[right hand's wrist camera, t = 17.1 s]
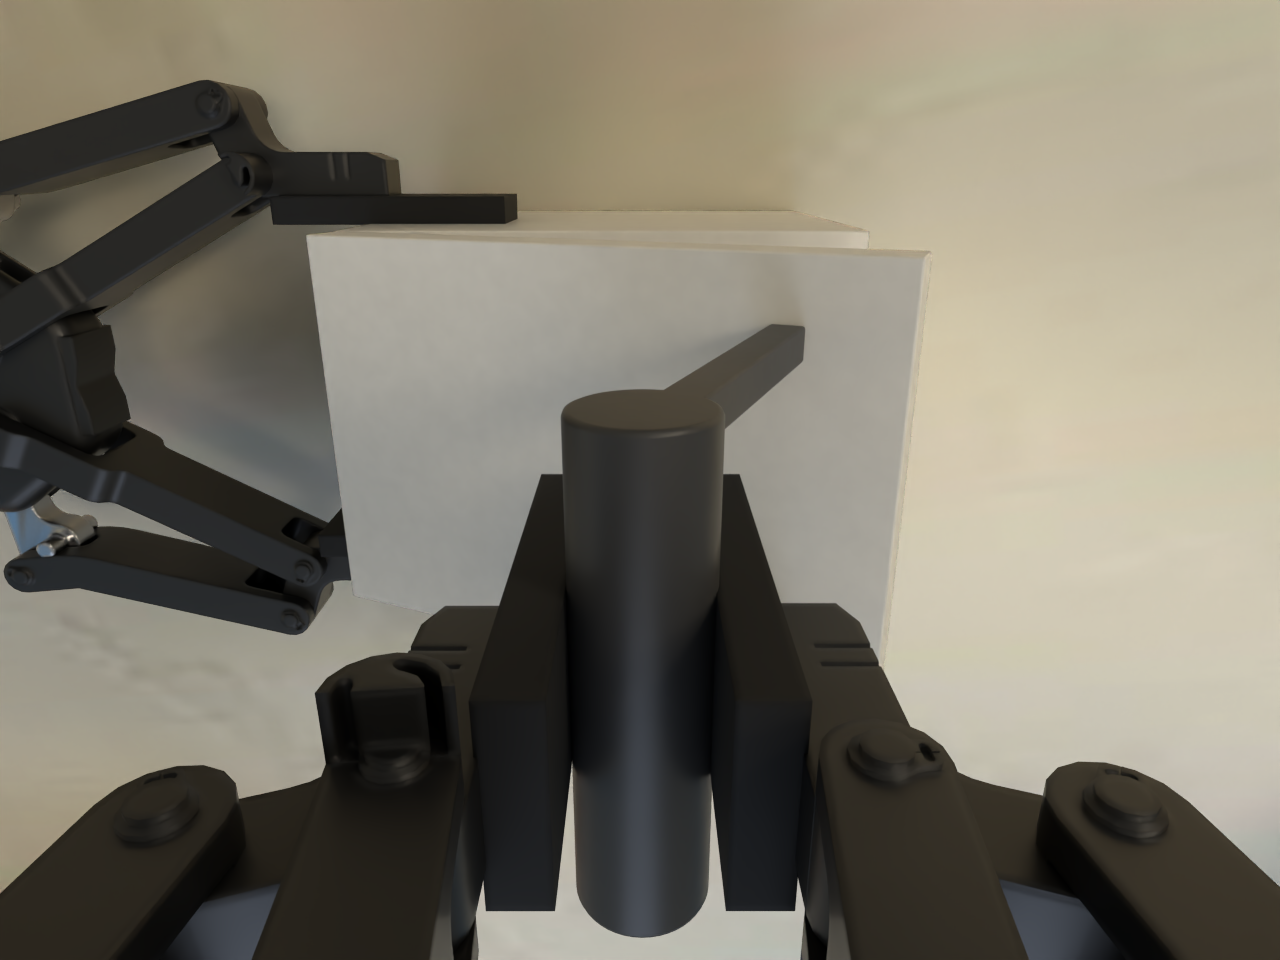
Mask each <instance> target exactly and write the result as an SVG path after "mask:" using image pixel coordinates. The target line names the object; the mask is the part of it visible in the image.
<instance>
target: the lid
mask: <svg viewBox="0 0 1280 960" xmlns="http://www.w3.org/2000/svg"><path fill="white" fill-rule="evenodd" d="M306 241H307V248H308V256H309V263H310V271H311V279H312V286H313V294H314V301H315V309H316V316H317V324H318V331H319V339H320V347H321V354H322V362H323V369H324V377H325V384H326V392H327V399H328V407H329V415H330V422H331V430H332V437H333V445H334V452H335V460H336V467H337V475H338V483H339V490H340V498H341V505H342V513H343V520H344V528H345V535H346V543H347V551H348V558H349V566H350V573H351V581H352V588H353V595H354V596H356V597H360V598H365V599H369V600H373V601H377V602H382V603H386V604H390V605H394V606H399V607H403V608H407V609H412V610H416V611H420V612H424V613H429V614H433V615H434V614H435V613H437V612H438V611H439V610H440V609H442V608H443V607H444V606H499V604H500V601H501V598H502V595H503V592H504V589H505V586H506V582H507V579H508V576H509V573H510V570H511V567H512V564H513V561H514V558H515V554H516V551H517V548H518V545H519V542H520V539H521V536H522V533H523V530H524V526H525V523H526V520H527V517H528V514H529V511H530V508H531V505H532V502H533V498H534V495H535V492H536V489H537V486H538V483H539V480H540V477H541V474H563V503H564V532H565V561H566V591H567V620H568V650H569V679H570V709H571V738H572V768H573V797H574V826H575V856H576V885H577V893H578V896H579V899H580V901H581V903H582V905H583V907H584V908H585V910H586V911H587V913H588V914H589V915H590V916H591V917H592V918H593V919H594V920H595V921H596V922H597V923H598V924H600V925H601V926H603V927H604V928H606V929H608V930H610V931H612V932H615V933H618V934H621V935H624V936H630V937H640V938H645V937H655V936H661V935H664V934H668V933H670V932H673V931H675V930H677V929H679V928H681V927H682V926H684V925H685V924H687V923H688V922H689V921H690V920H691V919H692V918H693V917H694V916H695V915H696V914H697V913H698V911H699V910H700V908H701V907H702V905H703V903H704V901H705V899H706V896H707V892H708V881H709V853H710V826H711V798H712V784H711V775H710V768H711V740H712V712H713V683H714V655H715V627H716V598H717V592H718V589H719V578H720V550H721V522H722V495H723V474H740V477H741V480H742V483H743V486H744V489H745V493H746V496H747V499H748V502H749V505H750V508H751V511H752V514H753V517H754V520H755V524H756V527H757V530H758V533H759V536H760V539H761V542H762V545H763V548H764V552H765V555H766V558H767V561H768V564H769V567H770V570H771V573H772V576H773V579H774V583H775V586H776V589H777V592H778V595H779V598H780V601H781V603H836V604H838V605H839V606H840V607H842V608H843V609H844V610H845V611H847V612H848V613H849V614H850V615H852V616H853V617H854V618H856V619H857V620H858V621H859V622H860V623H861V625H862V628H863V630H864V632H865V634H866V636H867V638H868V640H869V642H870V648H873V650H874V652H875V655H876V657H877V659H878V661H879V666H881V667H882V669H883V671H884V665H885V657H886V648H887V639H888V631H889V622H890V614H891V605H892V597H893V588H894V579H895V571H896V562H897V554H898V545H899V536H900V528H901V519H902V511H903V502H904V494H905V485H906V476H907V468H908V459H909V451H910V442H911V433H912V425H913V416H914V408H915V399H916V390H917V382H918V373H919V365H920V356H921V348H922V339H923V330H924V322H925V313H926V305H927V296H928V287H929V279H930V270H931V262H932V252H930V251H914V250H884V249H855V248H825V247H796V246H766V245H737V244H707V243H677V242H648V241H618V240H589V239H559V238H530V237H500V236H470V235H441V234H411V233H382V232H352V231H339V232H328V233H317V234H308V235H306Z"/></svg>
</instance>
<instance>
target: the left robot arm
mask: <svg viewBox="0 0 1280 960" xmlns="http://www.w3.org/2000/svg"><path fill="white" fill-rule="evenodd" d="M267 116H268V111H267V106H266V103H265V102H264V100H263V98H262V97H261V96H260V95H259V94H258V93H256V92H255V91H253V90H250V89H247V88H243V87H239V86H234V85H229V84H225V83H220V82H215V81H211V80H201V81H196V82H193V83H190V84H187V85H183V86H180V87H177V88H173V89H170V90H167V91H164V92H160V93H157V94H154V95H150V96H147V97H144V98H141V99H137V100H134V101H131V102H128V103H124V104H121V105H118V106H114V107H111V108H108V109H105V110H101V111H98V112H95V113H91V114H88V115H85V116H82V117H78V118H75V119H72V120H69V121H65V122H62V123H59V124H55V125H52V126H49V127H46V128H42V129H39V130H36V131H32V132H29V133H26V134H23V135H19V136H16V137H13V138H10V139H6V140H3V141H0V222H1V221H6V220H8V219H9V218H11V217H12V215H13V214H14V211H15V210H16V209H18V208H19V207H20V205H21V199H20V197H19V195H18V194H37V193H48V192H52V191H57V190H61V189H64V188H68V187H71V186H75V185H78V184H81V183H85V182H88V181H91V180H95V179H98V178H101V177H105V176H108V175H111V174H115V173H118V172H122V171H125V170H128V169H132V168H135V167H138V166H142V165H145V164H148V163H152V162H155V161H158V160H162V159H165V158H169V157H172V156H175V155H179V154H182V153H185V152H189V151H192V150H195V149H199V148H202V147H205V146H209V145H212V144H214V146H215V148H216V150H217V152H218V156H219V157H220V158H221V161H219V162H218V163H216V164H215V165H213V166H212V167H210V168H209V169H207V170H205V171H204V172H202V173H201V174H199V175H198V176H196V177H194V178H193V179H191V180H190V181H188V182H187V183H185V184H184V185H182V186H180V187H179V188H177V189H176V190H174V191H173V192H171V193H170V194H168V195H166V196H165V197H163V198H162V199H160V200H159V201H157V202H155V203H154V204H152V205H151V206H149V207H148V208H146V209H145V210H143V211H141V212H140V213H138V214H137V215H135V216H134V217H132V218H131V219H129V220H127V221H126V222H124V223H123V224H121V225H120V226H118V227H116V228H115V229H113V230H112V231H110V232H109V233H107V234H106V235H104V236H102V237H101V238H99V239H98V240H96V241H95V242H93V243H91V244H90V245H88V246H87V247H85V248H84V249H82V250H81V251H79V252H77V253H76V254H74V255H73V256H71V257H70V258H68V259H67V260H65V261H63V262H62V263H60V264H58V265H56V266H54V267H51V268H48V269H46V270H43V271H41V272H39V273H36V272H34V271H32V270H31V269H29V268H28V267H26V266H24V265H23V264H21V263H20V262H18V261H16V260H15V259H13V258H12V257H10V256H8V255H7V254H5V253H4V252H2V251H0V511H1V512H4V513H5V516H6V518H7V521H8V523H9V526H10V529H11V531H12V534H13V537H14V539H15V542H16V545H17V547H18V550H19V553H20V555H19V556H18V557H16V558H14V559H13V560H11V561H10V562H9V563H8V564H6V566H5V569H4V576H5V579H6V580H7V582H8V583H9V584H10V585H11V586H12V587H13V588H14V589H17V590H19V591H21V592H39V591H51V590H63V589H74V588H81V589H85V590H90V591H94V592H99V593H103V594H108V595H112V596H117V597H121V598H126V599H131V600H135V601H140V602H144V603H149V604H153V605H158V606H162V607H167V608H171V609H176V610H180V611H185V612H190V613H194V614H199V615H203V616H208V617H212V618H217V619H221V620H226V621H230V622H235V623H240V624H244V625H249V626H253V627H258V628H262V629H267V630H271V631H276V632H280V633H285V634H290V635H297V634H301V633H303V632H304V631H305V630H306V629H307V628H308V627H309V626H310V624H311V623H312V621H313V620H314V619H315V617H316V616H317V614H318V613H319V612H320V610H321V609H322V607H323V606H324V605H325V603H326V602H327V600H328V599H329V598H330V596H331V595H332V592H333V590H334V589H333V582H334V581H339V580H351V573H350V566H349V558H348V551H347V543H346V535H345V528H344V520H343V513H342V508H341V509H340V511H339V512H338V513H337V514H336V515H335V516H334V518H333V519H332V520H331V521H330V522H329V523H327V522H325V521H323V520H321V519H319V518H316V517H314V516H312V515H310V514H308V513H306V512H304V511H301V510H299V509H297V508H295V507H293V506H291V505H288V504H286V503H284V502H282V501H280V500H278V499H276V498H273V497H271V496H269V495H267V494H265V493H263V492H261V491H258V490H256V489H254V488H252V487H250V486H248V485H246V484H243V483H241V482H239V481H237V480H235V479H233V478H231V477H228V476H226V475H224V474H222V473H220V472H218V471H216V470H213V469H211V468H209V467H207V466H205V465H203V464H201V463H198V462H196V461H194V460H192V459H190V458H188V457H185V456H183V455H181V454H179V453H177V452H175V451H173V450H170V449H169V448H167V447H166V446H165V445H164V442H163V440H162V439H161V438H160V437H159V436H157V435H155V434H153V433H151V432H149V431H147V430H145V429H143V428H141V427H138V426H136V425H134V424H132V423H130V422H128V421H127V420H129V419H131V418H130V413H129V409H128V404H127V400H126V396H125V394H124V392H123V390H122V388H121V386H120V384H119V382H118V380H117V377H116V375H115V373H114V367H115V344H114V339H113V335H112V330H111V326H110V325H102V324H101V322H100V320H99V319H98V317H97V316H99V315H100V314H102V313H104V312H105V311H107V310H108V309H110V308H112V307H113V306H115V305H117V304H118V303H120V302H121V301H123V300H125V299H126V298H128V297H129V296H131V295H132V294H133V291H134V290H135V289H137V288H139V287H140V286H142V285H143V284H145V283H147V282H148V281H150V280H151V279H153V278H155V277H156V276H158V275H159V274H161V273H163V272H164V271H166V270H167V269H169V268H171V267H172V266H174V265H175V264H177V263H179V262H180V261H182V260H183V259H185V258H187V257H188V256H190V255H191V254H193V253H195V252H196V251H198V250H200V249H201V248H203V247H204V246H206V245H208V244H209V243H211V242H212V241H214V240H216V239H217V238H219V237H220V236H222V235H224V234H225V233H227V232H228V231H230V230H232V229H233V228H235V227H236V226H238V225H240V224H241V223H243V222H244V221H246V220H248V219H249V218H251V217H252V216H254V215H256V214H257V213H259V212H261V211H262V210H264V209H265V208H267V207H269V206H271V213H272V220H273V225H367V224H506V223H509V222H511V221H513V220H516V219H518V214H517V194H401V185H400V174H399V163H398V160H396V159H394V158H391V157H389V156H386V155H384V154H382V153H372V152H293V151H291V150H288V149H287V148H286V147H284V146H283V145H282V144H281V143H280V142H279V141H278V140H277V138H276V137H275V135H274V133H273V131H272V129H271V127H270V125H269V123H268V121H267ZM104 453H105V454H104ZM102 454H104V455H102ZM60 489H63V490H65V491H67V492H69V493H71V494H74V495H76V496H78V497H80V498H83V499H85V500H88V501H91V502H97V503H103V502H112V503H116V504H119V505H121V506H123V507H125V508H128V509H130V510H132V511H134V512H136V513H139V514H141V515H143V516H145V517H148V518H150V519H152V520H154V521H157V522H159V523H161V524H163V525H165V526H168V527H170V528H172V529H174V530H177V531H179V532H181V533H183V534H185V535H188V536H190V537H192V538H194V539H197V540H199V541H201V542H203V543H205V544H208V545H210V546H212V547H210V546H206V545H201V544H197V543H193V542H188V541H184V540H179V539H175V538H171V537H166V536H162V535H158V534H153V533H149V532H144V531H140V530H135V529H130V528H124V527H111V526H106V527H97V526H98V522H97V520H96V519H95V518H94V517H93V516H91V515H84V516H79V515H74V514H68V513H65V512H63V511H61V510H60V509H59V508H57V507H56V506H55V504H54V503H53V501H52V499H51V497H50V496H52V495H53V494H55V493H56V492H57V491H58V490H60Z"/></svg>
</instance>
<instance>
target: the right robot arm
mask: <svg viewBox="0 0 1280 960" xmlns="http://www.w3.org/2000/svg"><path fill="white" fill-rule="evenodd" d="M315 697H316V704H317V710H318V716H319V723H320V729H321V735H322V741H323V748H324V754H325V760H326V765H325V768H324V771H323V773H322V776H321V777H319V778H317V779H315V780H313V781H311V782H308V783H304V784H301V785H297V786H294V787H291V788H287V789H282V790H278V791H273V792H269V793H264V794H260V795H255V796H251V797H246V798H242V799H239V797H238V793H237V788H236V783H235V782H234V781H233V780H232V779H231V778H230V777H229V776H228V775H227V774H226V773H225V772H224V771H222V770H218V769H215V768H211V767H208V766H204V765H198V766H176V767H172V768H168V769H164V770H159V771H156V772H152V773H148V774H146V775H144V776H141V777H139V778H137V779H135V780H133V781H131V782H129V783H126V784H124V785H122V786H120V787H118V788H117V789H115V790H114V791H113V792H111V793H110V794H109V795H107V796H106V797H104V798H103V799H102V800H100V801H99V802H98V803H96V804H95V805H94V806H93V807H92V808H90V809H89V810H88V811H87V812H86V813H85V814H84V815H83V816H82V817H81V818H80V819H79V820H78V821H77V822H76V823H75V824H74V825H72V826H71V827H70V828H69V829H68V830H67V831H66V832H65V833H64V834H63V835H62V836H61V837H60V838H59V839H58V840H57V841H55V842H54V843H53V844H52V845H51V846H50V847H49V848H48V849H47V850H46V851H45V852H44V853H43V854H42V855H41V856H40V857H39V858H37V859H36V860H35V861H34V862H33V863H32V864H31V865H30V866H29V867H28V868H27V869H26V870H25V871H24V872H23V873H22V874H20V875H19V876H18V877H17V878H16V879H15V880H14V881H13V882H12V883H11V884H10V885H9V886H8V887H7V888H6V889H5V890H4V891H2V892H1V893H0V960H478V952H479V949H478V938H477V927H476V911H477V906H478V901H479V897H480V892H481V888H482V883H483V881H484V893H485V905H486V911H555V906H556V897H557V888H558V880H559V871H560V862H561V853H562V845H563V836H564V827H565V818H566V810H567V801H568V792H569V783H570V774H571V766H572V738H571V709H570V679H569V650H568V620H567V591H566V561H565V532H564V503H563V474H541V477H540V480H539V483H538V486H537V489H536V492H535V495H534V498H533V502H532V505H531V508H530V511H529V514H528V517H527V520H526V523H525V526H524V530H523V533H522V536H521V539H520V542H519V545H518V548H517V551H516V554H515V558H514V561H513V564H512V567H511V570H510V573H509V576H508V579H507V582H506V586H505V589H504V592H503V595H502V598H501V601H500V604H499V606H444V607H443V608H442V609H440V610H439V611H438V612H437V613H435V614H434V615H433V616H432V617H430V618H429V619H428V620H427V621H425V622H424V623H423V624H422V625H421V627H420V629H419V631H418V633H417V635H416V637H415V639H414V641H413V643H412V645H411V651H409V652H408V653H391V654H385V655H378V656H371V657H369V658H366V659H363V660H360V661H357V662H355V663H352V664H349V665H346V666H345V667H343V668H342V669H340V670H339V671H337V672H336V673H334V674H332V675H331V676H329V677H328V678H327V679H326V680H325V681H324V682H323V684H322V685H321V686H320V687H319V689H318V690H317V691H316V692H315ZM710 775H711V784H712V793H713V802H714V810H715V819H716V828H717V837H718V845H719V854H720V863H721V872H722V880H723V889H724V898H725V907H726V911H795V904H796V892H797V881H798V879H799V884H800V888H801V893H802V897H803V902H804V906H805V915H804V927H803V938H802V949H801V960H1280V887H1279V886H1278V885H1277V884H1276V883H1275V882H1274V881H1273V880H1272V879H1271V878H1270V877H1268V876H1267V875H1266V874H1265V873H1264V872H1263V871H1262V870H1261V869H1260V868H1259V867H1258V866H1257V865H1256V864H1255V863H1254V862H1252V861H1251V860H1250V859H1249V858H1248V857H1247V856H1246V855H1245V854H1244V853H1243V852H1242V851H1241V850H1240V849H1239V848H1237V847H1236V846H1235V845H1234V844H1233V843H1232V842H1231V841H1230V840H1229V839H1228V838H1227V837H1226V836H1225V835H1224V834H1222V833H1221V832H1220V831H1219V830H1218V829H1217V828H1216V827H1215V826H1214V825H1213V824H1212V823H1211V822H1210V821H1209V820H1208V819H1206V818H1205V817H1204V816H1203V815H1202V814H1201V813H1200V812H1199V811H1198V810H1197V809H1196V808H1195V807H1194V806H1193V805H1191V804H1190V803H1189V802H1188V801H1187V800H1186V799H1184V798H1183V797H1181V796H1180V795H1179V794H1177V793H1176V792H1175V791H1173V790H1172V789H1171V788H1169V787H1168V786H1166V785H1165V784H1164V783H1161V782H1159V781H1157V780H1155V779H1153V778H1151V777H1148V776H1146V775H1144V774H1142V773H1140V772H1138V771H1135V770H1132V769H1128V768H1125V767H1120V766H1117V765H1112V764H1108V763H1101V762H1076V763H1072V764H1069V765H1065V766H1062V767H1058V768H1057V769H1056V770H1055V771H1054V772H1053V773H1052V774H1051V775H1050V776H1049V777H1048V778H1047V779H1046V784H1045V788H1044V793H1043V796H1042V795H1037V794H1033V793H1028V792H1024V791H1019V790H1015V789H1010V788H1005V787H1001V786H996V785H992V784H989V783H985V782H982V781H979V780H975V779H972V778H970V777H967V776H965V775H963V774H961V773H958V772H957V769H956V767H955V764H954V762H953V761H952V759H951V758H950V756H949V755H948V753H947V752H946V750H945V749H944V747H943V746H942V745H940V744H939V743H938V742H936V741H935V740H933V739H932V738H931V737H929V736H928V735H927V734H925V733H924V732H922V731H919V730H917V729H914V728H912V727H910V725H909V723H908V721H907V719H906V717H905V715H904V713H903V711H902V708H901V706H900V704H899V702H898V700H897V698H896V696H895V694H894V692H893V690H892V688H891V686H890V684H889V681H888V679H887V677H886V675H885V673H884V671H883V669H882V667H881V666H879V661H878V659H877V657H876V655H875V652H874V650H873V648H870V642H869V640H868V638H867V636H866V634H865V632H864V630H863V628H862V625H861V623H860V622H859V621H858V620H857V619H856V618H854V617H853V616H852V615H850V614H849V613H848V612H847V611H845V610H844V609H843V608H842V607H840V606H839V605H838V604H836V603H781V601H780V598H779V595H778V592H777V589H776V586H775V583H774V579H773V576H772V573H771V570H770V567H769V564H768V561H767V558H766V555H765V552H764V548H763V545H762V542H761V539H760V536H759V533H758V530H757V527H756V524H755V520H754V517H753V514H752V511H751V508H750V505H749V502H748V499H747V496H746V493H745V489H744V486H743V483H742V480H741V477H740V474H723V495H722V522H721V550H720V578H719V589H718V592H717V598H716V627H715V655H714V683H713V712H712V740H711V768H710Z"/></svg>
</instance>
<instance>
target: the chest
mask: <svg viewBox="0 0 1280 960" xmlns="http://www.w3.org/2000/svg"><path fill="white" fill-rule="evenodd" d="M517 214H518V219H516V220H513V221H511V222H509V223H506V224H367V225H362V226H357V227H352V228H347V229H342V230H337V231H335V232H339V231H352V232H382V233H411V234H441V235H470V236H500V237H530V238H559V239H589V240H618V241H648V242H677V243H707V244H737V245H766V246H796V247H825V248H855V249H868V243H869V231H867V230H863V229H860V228H856V227H852V226H849V225H845V224H841V223H837V222H834V221H830V220H826V219H823V218H819V217H815V216H811V215H808V214H804V213H800V212H796V211H517Z"/></svg>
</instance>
